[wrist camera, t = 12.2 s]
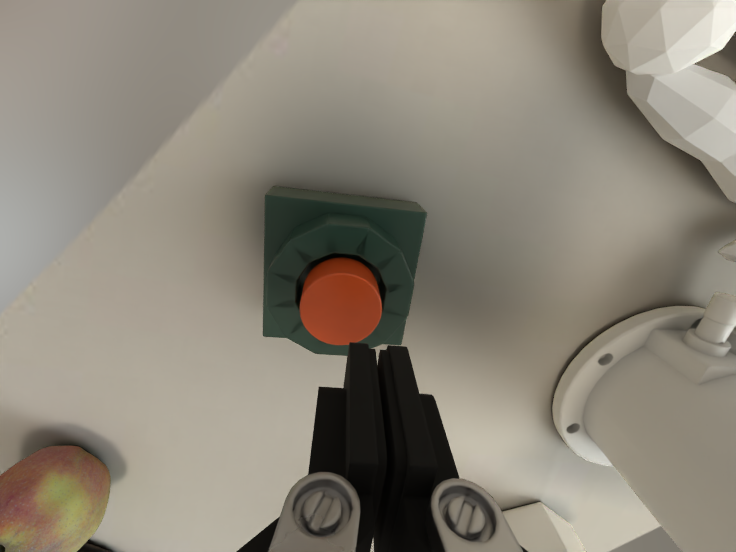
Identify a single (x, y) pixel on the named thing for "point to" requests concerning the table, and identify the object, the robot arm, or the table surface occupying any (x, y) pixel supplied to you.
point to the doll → (680, 77)
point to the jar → (542, 529)
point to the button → (340, 301)
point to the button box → (338, 239)
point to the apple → (52, 500)
